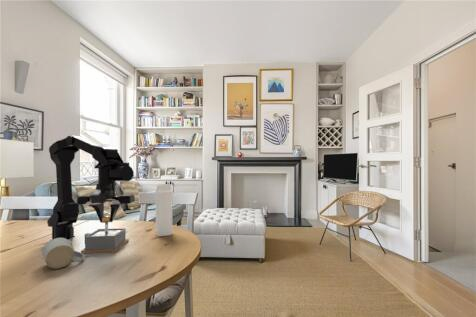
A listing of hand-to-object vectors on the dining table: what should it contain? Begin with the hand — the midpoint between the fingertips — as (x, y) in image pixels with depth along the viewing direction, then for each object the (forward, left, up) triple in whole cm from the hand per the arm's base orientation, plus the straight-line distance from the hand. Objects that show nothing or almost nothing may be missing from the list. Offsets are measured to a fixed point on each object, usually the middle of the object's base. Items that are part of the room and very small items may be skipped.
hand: (106, 222), depth 92 cm
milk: (+18, +15, -10) cm, 25 cm away
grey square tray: (0, 0, -9) cm, 9 cm away
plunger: (0, 0, -5) cm, 5 cm away
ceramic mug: (-7, -14, -10) cm, 19 cm away
